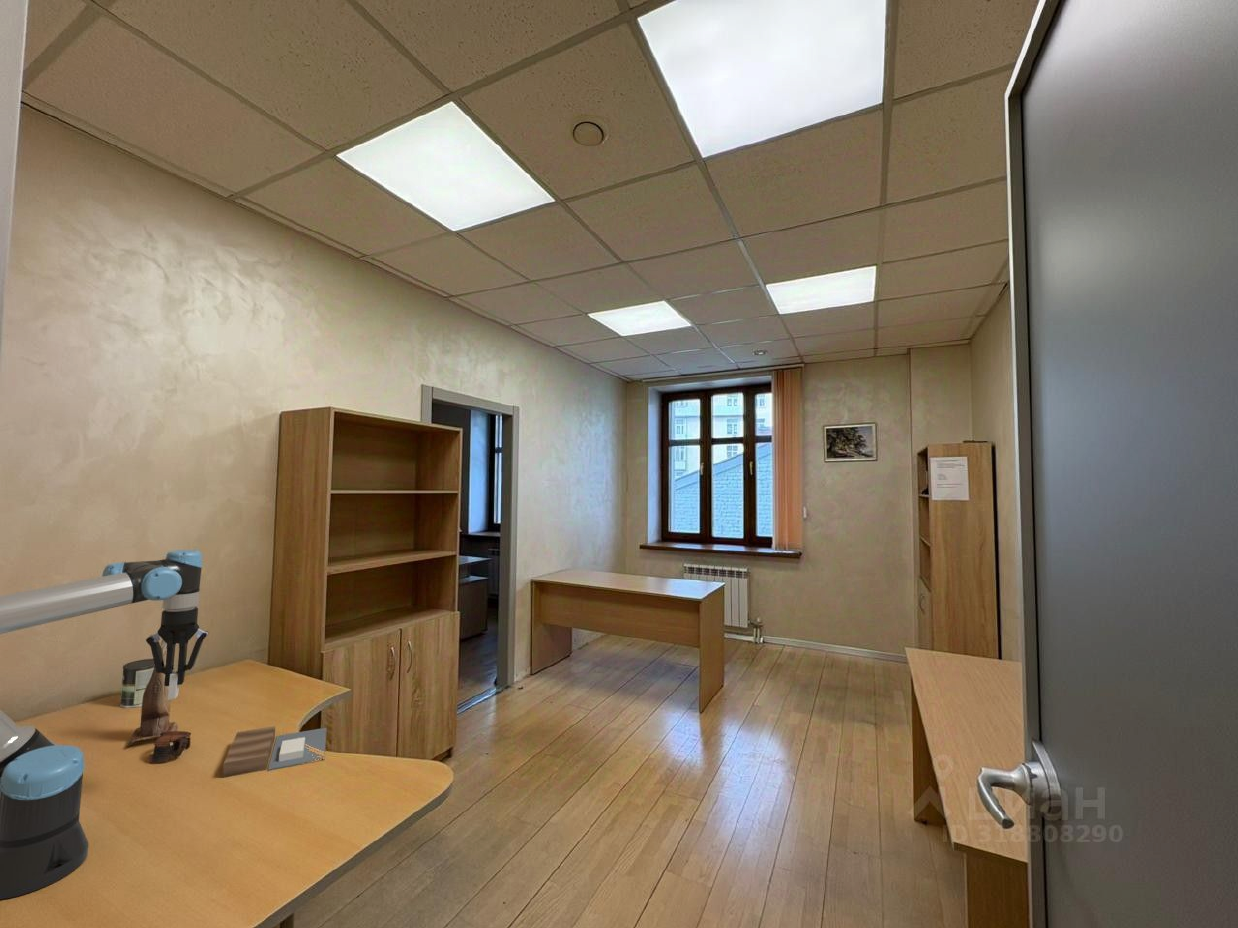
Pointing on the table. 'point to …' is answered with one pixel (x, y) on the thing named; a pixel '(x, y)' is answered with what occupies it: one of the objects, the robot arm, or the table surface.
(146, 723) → the brown tall tapered piece
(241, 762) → the block
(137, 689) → the coffee can
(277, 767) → the mat
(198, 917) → the table surface
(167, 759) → the pottery mug
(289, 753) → the white rectangular block
